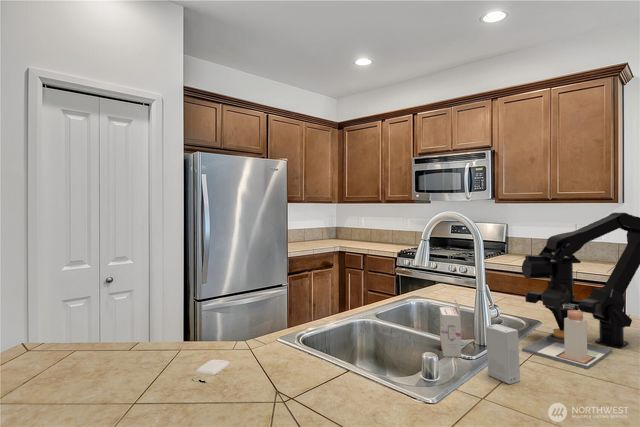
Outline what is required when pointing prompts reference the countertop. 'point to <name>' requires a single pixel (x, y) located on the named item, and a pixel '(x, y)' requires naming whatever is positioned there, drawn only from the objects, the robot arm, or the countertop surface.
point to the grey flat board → (556, 351)
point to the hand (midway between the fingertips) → (562, 330)
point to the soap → (212, 367)
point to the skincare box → (503, 353)
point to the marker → (575, 335)
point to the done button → (558, 333)
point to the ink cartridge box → (450, 331)
